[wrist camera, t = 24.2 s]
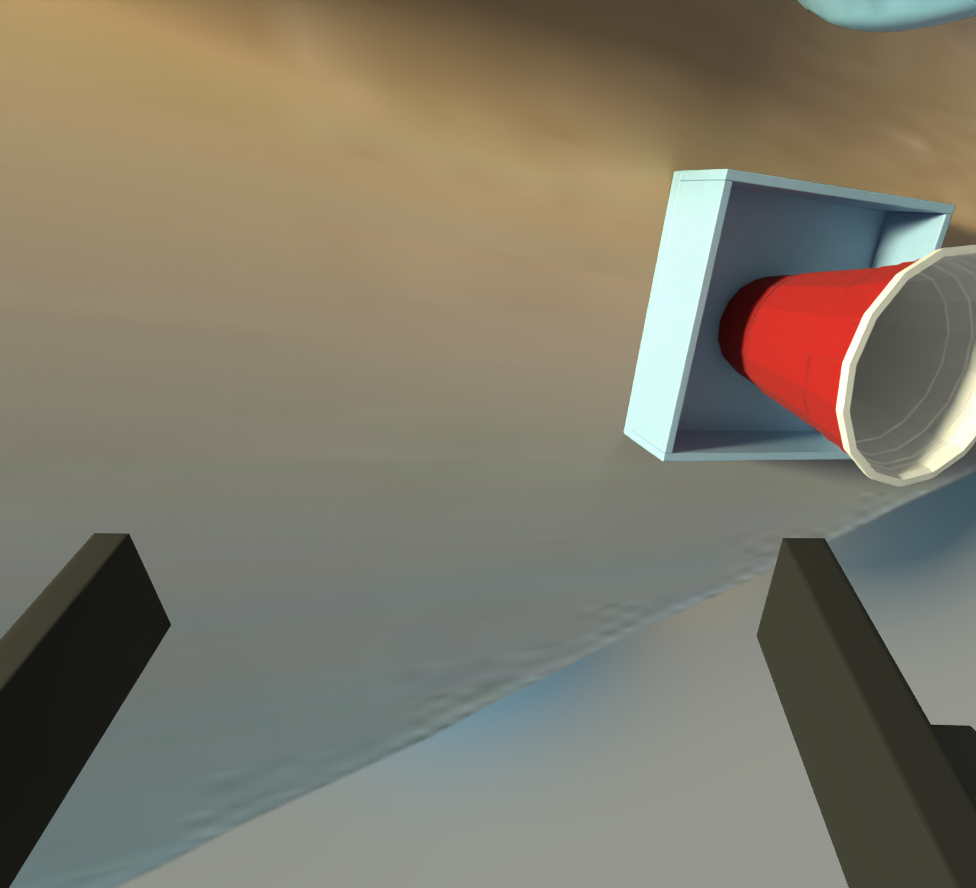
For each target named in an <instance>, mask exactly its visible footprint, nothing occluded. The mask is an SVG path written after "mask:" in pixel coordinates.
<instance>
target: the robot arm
mask: <svg viewBox="0 0 976 888" xmlns="http://www.w3.org/2000/svg"><path fill="white" fill-rule="evenodd" d="M798 1H799V3H800V4H801V5H803V6H804V7H805V8H806V9H807V10H808V11H811V12H813V13H814V14H816V15H817V16H819V17H820V18H822V19H823V20H825V21H826V22H828V23H831V24H835V25H837V26H838V27H841V28H844V29H850V30H858V31H866V32H893V31H904V30H912V29H920V28H926V27H932V26H936V25H941V24H945V23H950V22H954V21H957V20H961V19H965V18H969V17H972V16H976V0H798ZM170 626H171V624H170V621H169V619H168V617H167V615H166V613H165V611H164V608H163V606H162V604H161V602H160V600H159V598H158V595H157V593H156V591H155V589H154V587H153V584H152V582H151V580H150V578H149V576H148V574H147V571H146V569H145V567H144V565H143V563H142V561H141V558H140V556H139V554H138V552H137V550H136V548H135V545H134V543H133V541H132V539H131V537H130V535H129V534H109V533H94V534H93V535H92V536H91V537H90V539H89V540H88V541H87V542H86V543H85V544H84V545H83V547H82V548H81V549H80V550H79V551H78V552H77V553H76V554H75V556H74V557H73V558H72V559H71V560H70V561H69V562H68V563H67V565H66V566H65V567H64V568H63V569H62V570H61V571H60V573H59V574H58V575H57V576H56V577H55V578H54V579H53V580H52V582H51V583H50V584H49V585H48V586H47V587H46V588H45V590H44V591H43V592H42V593H41V594H40V595H39V596H38V597H37V599H36V600H35V601H34V602H33V603H32V604H31V605H30V606H29V608H28V609H27V610H26V611H25V612H24V613H23V614H22V616H21V617H20V618H19V619H18V620H17V621H16V622H15V623H14V625H13V626H12V627H11V628H10V629H9V630H8V631H7V633H6V634H5V635H4V636H3V637H2V638H1V639H0V888H9V887H10V885H11V884H12V882H13V880H14V879H15V877H16V875H17V874H18V872H19V871H20V869H21V867H22V866H23V864H24V863H25V861H26V859H27V858H28V856H29V854H30V853H31V851H32V850H33V848H34V846H35V845H36V843H37V841H38V840H39V838H40V837H41V835H42V833H43V832H44V830H45V828H46V827H47V825H48V824H49V822H50V820H51V819H52V817H53V816H54V814H55V812H56V811H57V809H58V807H59V806H60V804H61V803H62V801H63V799H64V798H65V796H66V794H67V793H68V791H69V790H70V788H71V786H72V785H73V783H74V781H75V780H76V778H77V777H78V775H79V773H80V772H81V770H82V768H83V767H84V765H85V764H86V762H87V760H88V759H89V757H90V756H91V754H92V752H93V751H94V749H95V747H96V746H97V744H98V743H99V741H100V739H101V738H102V736H103V734H104V733H105V731H106V730H107V728H108V726H109V725H110V723H111V721H112V720H113V718H114V717H115V715H116V713H117V712H118V710H119V709H120V707H121V705H122V704H123V702H124V700H125V699H126V697H127V696H128V694H129V692H130V691H131V689H132V687H133V686H134V684H135V683H136V681H137V679H138V678H139V676H140V674H141V673H142V671H143V670H144V668H145V666H146V665H147V663H148V661H149V660H150V658H151V657H152V655H153V653H154V652H155V650H156V649H157V647H158V645H159V644H160V642H161V640H162V639H163V637H164V636H165V634H166V632H167V631H168V629H169V627H170ZM757 638H758V641H759V643H760V646H761V649H762V652H763V654H764V657H765V660H766V663H767V665H768V668H769V671H770V673H771V676H772V679H773V682H774V684H775V687H776V690H777V693H778V695H779V698H780V701H781V704H782V706H783V709H784V712H785V715H786V717H787V720H788V723H789V725H790V728H791V731H792V734H793V736H794V739H795V742H796V744H797V747H798V750H799V752H800V755H801V758H802V761H803V763H804V766H805V769H806V772H807V774H808V777H809V780H810V783H811V785H812V788H813V791H814V794H815V796H816V799H817V802H818V805H819V807H820V810H821V813H822V815H823V818H824V821H825V824H826V827H827V829H828V832H829V835H830V837H831V840H832V843H833V846H834V848H835V851H836V854H837V857H838V859H839V862H840V865H841V867H842V870H843V873H844V876H845V878H846V881H847V884H848V887H849V888H976V731H975V730H974V729H973V728H972V727H971V726H955V725H931V724H930V722H929V721H928V719H927V717H926V715H925V714H924V712H923V711H922V708H921V706H920V705H919V703H918V702H917V699H916V698H915V696H914V695H913V692H912V691H911V689H910V687H909V686H908V684H907V682H906V680H905V679H904V677H903V675H902V673H901V672H900V670H899V668H898V666H897V664H896V663H895V661H894V659H893V657H892V656H891V654H890V652H889V651H888V649H887V647H886V645H885V643H884V642H883V640H882V638H881V636H880V635H879V633H878V631H877V629H876V628H875V626H874V624H873V622H872V621H871V619H870V617H869V615H868V614H867V612H866V610H865V609H864V607H863V605H862V603H861V601H860V600H859V598H858V596H857V594H856V593H855V591H854V589H853V587H852V586H851V584H850V582H849V580H848V579H847V577H846V575H845V574H844V572H843V570H842V568H841V566H840V565H839V563H838V561H837V559H836V558H835V556H834V554H833V552H832V551H831V549H830V547H829V546H828V544H827V542H826V540H825V538H783V540H782V544H781V547H780V551H779V555H778V559H777V562H776V566H775V570H774V573H773V577H772V581H771V585H770V588H769V592H768V596H767V599H766V603H765V607H764V611H763V614H762V618H761V622H760V626H759V630H758V633H757Z"/></svg>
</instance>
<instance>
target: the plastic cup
mask: <svg viewBox="0 0 976 888" xmlns="http://www.w3.org/2000/svg"><path fill="white" fill-rule="evenodd" d="M718 341H719V345H720V349H721V352H722V356H723V357H724V358H725V359H726V360H727V361H728V363H729V364H730V365H731V366H732V367H733V368H734V369H735V370H736V372H737V373H739V374H740V375H742V376H743V377H745V378H746V379H747V380H749V381H750V382H752V383H753V384H755V385H756V386H757V387H758V388H759V389H760V390H761V391H762V392H763V393H764V394H766V395H767V396H769V397H770V398H772V399H773V400H774V401H776V402H777V403H779V404H780V405H782V406H783V407H785V408H786V409H787V410H789V411H790V412H792V413H793V414H795V415H796V416H797V417H799V418H800V419H802V420H803V421H805V422H806V423H808V424H809V425H810V426H812V427H813V428H815V429H816V430H818V431H819V432H821V433H822V434H823V435H824V436H825V437H826V439H828V440H829V441H831V442H832V443H834V444H836V445H837V446H839V447H840V449H841V450H842V451H843V452H845V453H847V454H848V455H849V456H850V457H851V458H852V460H853V461H854V462H855V463H856V464H857V466H858V467H859V468H860V469H861V470H862V472H863V473H864V474H865V475H867V476H868V477H869V478H871V479H873V480H877V481H880V482H884V483H887V484H891V485H894V486H898V487H902V486H906V485H909V484H913V483H917V482H921V481H925V480H928V479H932V478H934V477H935V476H937V475H938V474H939V473H941V472H942V471H944V470H945V469H946V468H948V467H949V466H951V465H952V464H953V463H955V462H956V461H957V460H959V459H960V458H962V457H963V456H964V455H965V454H966V453H967V452H968V451H969V449H970V448H971V447H972V446H973V445H974V443H975V442H976V245H967V246H958V247H948V248H942V249H938V250H934V251H932V252H930V253H929V254H927V255H926V256H924V257H923V258H921V259H917V260H915V261H912V262H902V263H900V264H899V265H891V266H881V267H880V268H866V269H852V270H838V271H824V272H813V273H803V274H797V275H781V276H770V277H763V278H762V279H756V280H754V281H752V282H751V283H749V284H747V285H745V286H744V287H742V288H740V290H739V291H738V292H737V293H736V294H735V295H734V296H733V298H732V299H731V300H730V301H729V302H728V304H727V306H726V308H725V310H724V313H723V315H722V317H721V320H720V324H719V334H718Z"/></svg>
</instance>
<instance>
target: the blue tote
mask: <svg viewBox="0 0 976 888" xmlns="http://www.w3.org/2000/svg"><path fill="white" fill-rule="evenodd" d="M954 208H955V205H952V204H946V203H940V202H934V201H927V200H921V199H915V198H909V197H902V196H896V195H890V194H883V193H877V192H871V191H865V190H858V189H852V188H846V187H840V186H833V185H827V184H821V183H815V182H808V181H802V180H796V179H789V178H783V177H777V176H771V175H764V174H758V173H752V172H746V171H739V170H733V169H708V170H684V171H675V172H674V175H673V181H672V186H671V191H670V196H669V201H668V206H667V211H666V217H665V222H664V227H663V232H662V237H661V242H660V248H659V253H658V258H657V263H656V268H655V273H654V279H653V284H652V289H651V294H650V299H649V304H648V310H647V315H646V320H645V325H644V330H643V335H642V340H641V346H640V351H639V356H638V361H637V366H636V371H635V377H634V382H633V387H632V392H631V397H630V402H629V408H628V413H627V418H626V423H625V428H624V434H626V435H627V436H628V437H630V438H631V439H632V440H634V441H635V442H636V443H638V444H639V445H641V446H642V447H643V448H645V449H646V450H648V451H649V452H650V453H652V454H653V455H655V456H656V457H657V458H659V459H660V460H662V461H739V460H820V459H852V458H851V457H850V456H849V455H848V454H847V453H845V452H843V451H842V450H841V449H840V447H839V446H837V445H836V444H834V443H832V442H831V441H829V440H828V439H826V437H825V436H824V435H823V434H822V433H821V432H819V431H818V430H816V429H815V428H813V427H812V426H810V425H809V424H808V423H806V422H805V421H803V420H802V419H800V418H799V417H797V416H796V415H795V414H793V413H792V412H790V411H789V410H787V409H786V408H785V407H783V406H782V405H780V404H779V403H777V402H776V401H774V400H773V399H772V398H770V397H769V396H767V395H766V394H764V393H763V392H762V391H761V390H760V389H759V388H758V387H757V386H756V385H755V384H753V383H752V382H750V381H749V380H747V379H746V378H745V377H743V376H742V375H740V374H739V373H737V372H736V370H735V369H734V368H733V367H732V366H731V365H730V364H729V363H728V361H727V360H726V359H725V358H724V357H723V356H722V352H721V349H720V345H719V341H718V334H719V324H720V320H721V317H722V315H723V313H724V310H725V308H726V306H727V304H728V302H729V301H730V300H731V299H732V298H733V296H734V295H735V294H736V293H737V292H738V291H739V290H740V288H742V287H744V286H745V285H747V284H749V283H751V282H752V281H754V280H756V279H762V278H763V277H770V276H781V275H797V274H803V273H813V272H824V271H838V270H852V269H866V268H880V267H881V266H891V265H899V264H900V263H902V262H912V261H915V260H917V259H921V258H923V257H924V256H926V255H927V254H929V253H930V252H932V251H934V250H938V249H941V247H942V244H943V241H944V238H945V235H946V232H947V229H948V226H949V223H950V220H951V217H952V215H951V214H953V211H954Z"/></svg>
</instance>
